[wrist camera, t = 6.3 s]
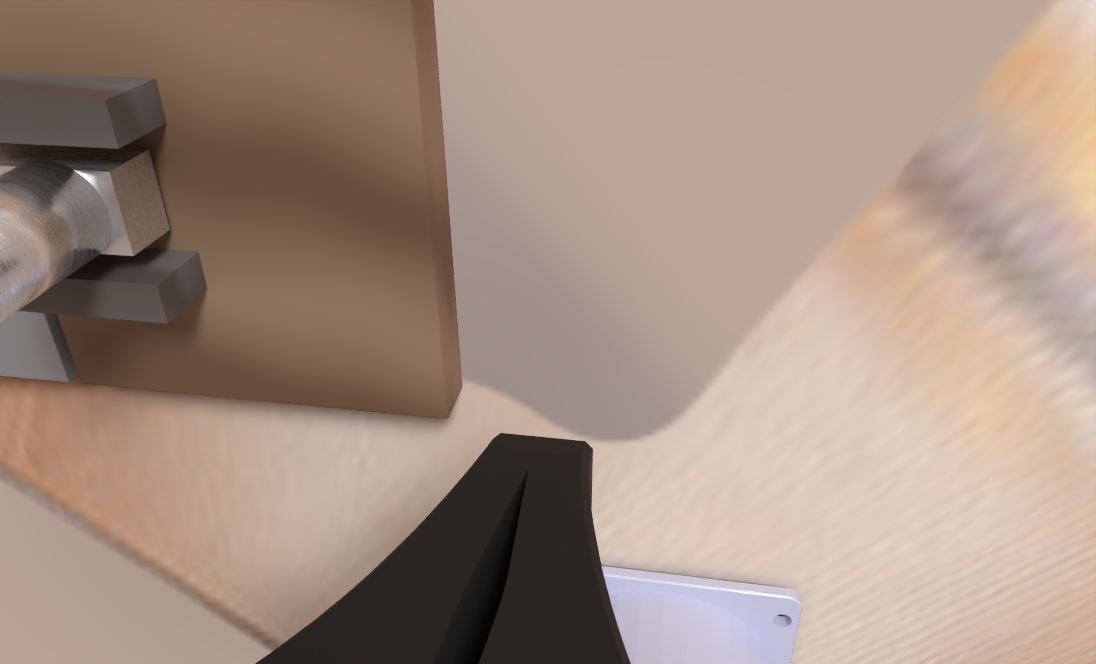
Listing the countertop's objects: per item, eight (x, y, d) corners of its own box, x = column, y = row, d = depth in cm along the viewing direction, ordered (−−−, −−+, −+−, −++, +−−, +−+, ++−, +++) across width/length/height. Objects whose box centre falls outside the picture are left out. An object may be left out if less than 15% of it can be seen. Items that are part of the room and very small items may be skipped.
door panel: (462, 386, 23) (427, 462, 20) (114, 355, 25) (38, 421, 22) (426, -101, 17) (369, -87, 14) (-35, -101, 19) (-167, -89, 16)
